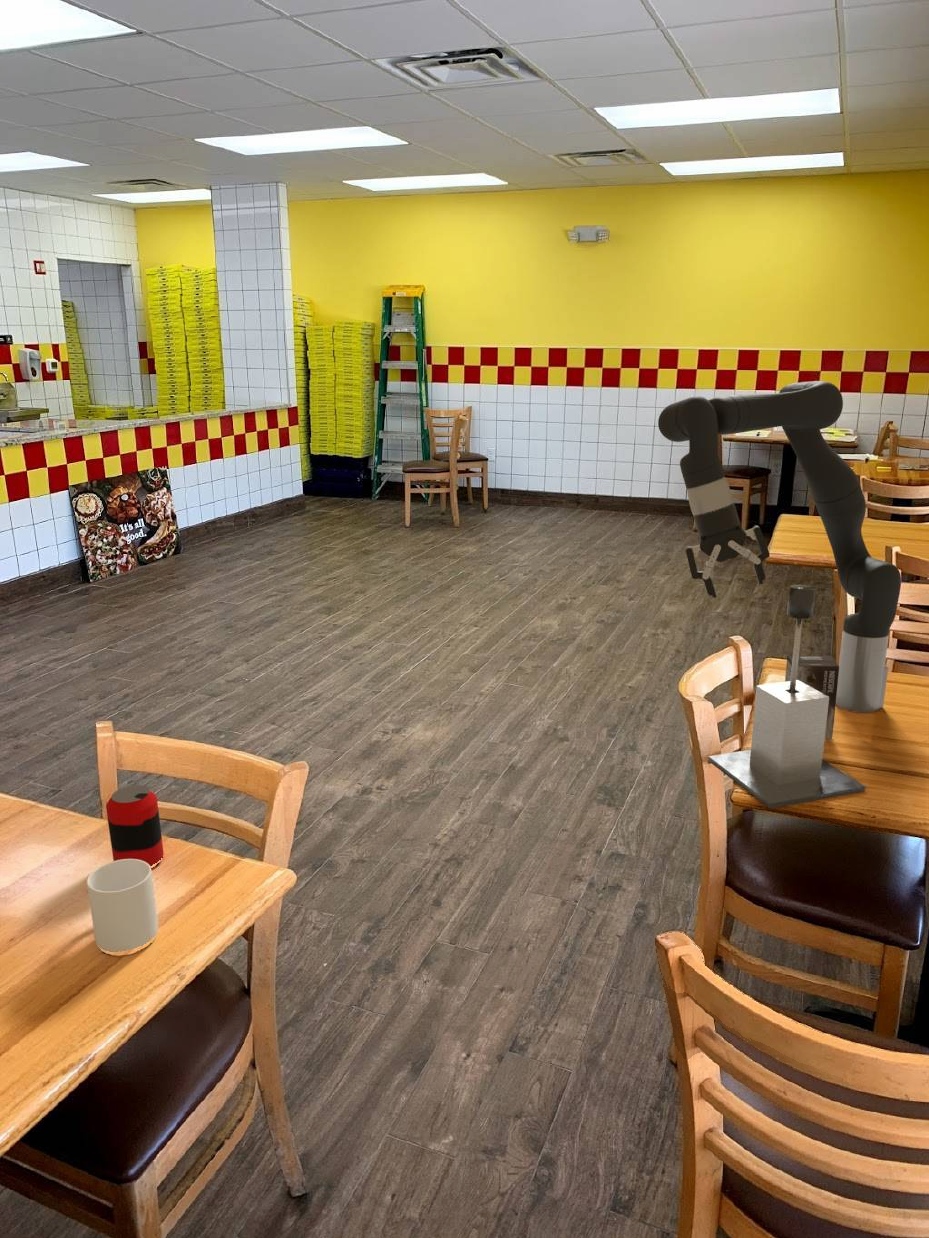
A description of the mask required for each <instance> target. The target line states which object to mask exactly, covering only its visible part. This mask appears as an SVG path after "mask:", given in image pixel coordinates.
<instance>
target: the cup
mask: <svg viewBox="0 0 929 1238" xmlns="http://www.w3.org/2000/svg"><path fill="white" fill-rule="evenodd" d="M86 887H87V895H88V901H89V906H90V907H89V908H90V912H91V913H90V914H91V921H92V927H93V932H94V940H95V944H96V947H97V946H99V947H100V948H101V949H103V950H105V951H109V952H119V951H120V952H121V951H126V950H130V949H134V948H137V947H139V946H143V945H144V944H146V943H147V942H149V941H150V940H151V939H152V938H153V937H154V936H155V935H156V934H157V931H158V932H159V919H158V914H157V913H158V911H157V903H156V897H155V890H154V889H155V887H154V881H153V873H152V869H151V867H150V865H149V864H148V863H146V862H144V861H142V860H137V859H122V860H117V861H113V860H112V861H111V862H107V863H105V864H102V865H101V866H99V867H97V868H96V869H94V870H93V871H91V873H90V874H89V876H88V877H87V880H86ZM157 935H158V934H157Z"/></svg>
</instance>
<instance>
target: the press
mask: <svg viewBox="0 0 929 1238" xmlns="http://www.w3.org/2000/svg"><path fill="white" fill-rule="evenodd" d="M789 690H790V681H787V682H785V681H779V682H773V683H766V684H765V683H764V684H759V685H758V684H757V685H756V689H755V698H754V699H755V700H754V709H753V712H754V713H753V721H752V734H751V744H750V749H747V750H741V751H733V752H727V753H720V754H713V755H709V756H708V760H707V761H708V762H709V763H710V764H712V765H713V766H714V767H715V768H717V769H718V770H719V771H721V772H722V773H723V774H724V775H726V776H727V777H728V778H729V779H731V780H733V782H735V783H736V784H737V785H738V786H740V787H741V788H743V789H744V790H745V791H747V792H748V793H749V794H750V795H752V797H754V798H756V799H757V800H758V801H760V802H761V803H762V804H763V805H764V806H766V807H767V808H768V809H776V808H780V807H786V806H793V805H797V804H804V803H809V802H815V801H819V800H820V801H821V800H824V799H832V798H837V797H842V796H849V795H854V794H858V793H865V792H866V787H867V786H866V785H864V784H863V783H861V782H859V781H858V780H856V779H855V778H853V777H852V776H850V775H848V774H847V773H845V772H844V771H842V770H841V769H839V768H838V767H837V766H834V764H832V763H830V762H828V761H827V760H825V759H823V756H824V749H825V746H824V745H825V741H826V739H825V731H826V722H827V713H828V704H829V696H827V695H825V694H823V693H821V692H819V691H817V690H816V689H814V688H812V687H810V686H808V685H806V684H804V683H803V682H801V681H799V680H796V688H795V693H793V694H791V693H789Z"/></svg>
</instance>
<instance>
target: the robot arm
mask: <svg viewBox="0 0 929 1238" xmlns="http://www.w3.org/2000/svg"><path fill="white" fill-rule="evenodd" d="M843 407H844V399H843V395H842V392H841V390H840V389H839V388H838V386H836V385H835V384H834V383H832V382H828V381H823V380H815V381H801V382H794V383H789V384H786V385H784V386H783V387H782V388H781V389H780V390H779V392H774V393H770V392H769V393H743V394H742V393H740V394H730V395H729V394H728V395H721V396H717V397H713V398H710V399H707V398H706V397H704V396H701V395H695V396H690V397H688V398H685V399H682V400H679V401H676V402H674V403H671V404H668V405H667V406H666V407H665V408H663V410H662V411H661V413H660V414H659V417H658V419H657V424H658V429H659V432H660V433H661V435H662V436H663V437H664V438H665V439H667V440H668V441H670V442H674V443H681V442H688V441H689V442H688V445H689V446H688V447H689V448H688V449H689V450H688V451H689V452H688V453H687V454H686V455H683V456H682V458H681V459H680V461H679V467H680V471H681V474H682V478H683V481H684V484H685V488H686V491H687V498H688V503H689V506H690V511H691V513H692V515H693V520H694V522H695V527H696V531H697V533H698V537H699V539H700V542H699V544H697V545H693V546H691V545H687V546H686V547H685V554H686V557H687V562H688V565H689V571H690V574H691V578H692V579H693V580H696V579H697V580H698V579H700V580H703V581H702V582H703V584H704V586H705V590H706V593H707V595H708V596H710V597H711V596H712V599H714V598H715V599H716V598H717V597H718V596H717V593H716V590H715V586H714V583H713V580H712V577H711V576H710V575H711V574H712V571H713V568H714V566H715V563H717V562H718V563H719V562H720V563H724V562H725V561H727V560H729V559H731V560H733V559H737V558H738V557H739V556H740V555H742V556H743V558H746V559H747V560H749V561H750V562H751V563H752V566H753V568H754V572H755V576H756V579H757V581H758V585H759V586H760V585H763V584H764V581H765V580H766V574H765V571H764V568H763V561H764V560H766V559H768V558H770V551H769V549H768V545H767V542H766V540H765V537H764V535H763V532H762V530H761V528H760V526H759V525H754V526H753V527H752V528H749V529H747V530H744V529H743V527H742V525H741V522H740V518H739V515H738V512H737V508H736V504H735V501H734V497H733V494H732V491H731V489H730V486H729V483H728V481H727V479H726V477H725V472H724V469H723V466H722V463H721V460H720V455H719V436H723V435H724V436H725V435H732V434H733V435H734V434H741V433H746V432H754V431H759V430H766V429H772V428H773V429H774V428H779V427H781V428H782V430H783V432H784V433H785V435H786V438H787V440H788V441H789V443H790V445H791V448H792V450H793V452H794V454H795V456H796V458H797V460H798V462H799V464H800V466H801V469H802V471H803V475H804V477H805V480H806V481H807V484H808V487H809V490H810V493H811V495H812V499H813V502H814V504H815V507H816V510H817V513H818V515H819V517H820V520H821V521H822V524H823V527H824V529H825V533H826V536H827V539H828V541H829V544H830V547H831V551H832V553H833V557H834V562H835V566H836V570H837V574H838V578H839V583H840V585H841V587H842V589H843V591H844V592H845V593H847V595H850V596H851V597H852V598H855V599H858V600H860V601H861V603H860V608H859V612H858V613H849V614H848V615H846V616H845V618H844V620H843V627H842V634H841V635H842V636H841V644H840V652H839V653H840V654H839V662H838V665H839V676H838V686H837V696H836V706H837V707H838V708H840V709H842V710H845V711H848V712H849V711H850V712H854V713H863V714H865V713H868V714H869V713H874V712H877V711H878V710H879V709H881V708H884V706H885V705H884V704H885V703H884V702H885V696H886V689H887V681H888V672H889V667H888V665H886V659H887V651H888V643H889V635H890V630H891V627H892V625H893V623H894V621H895V618H896V614H897V610H898V603H899V598H900V593H901V587H902V577H901V572H900V570H899V568H898V567H897V566H896V565H895V564H892V563H890V562H887V561H885V560H881V559H878V558H875V557H872V555H871V554H870V553H869V551H868V549H867V546H866V543H865V541H864V538H863V534H862V528H863V523H864V519H865V517H866V516H865V515H866V509H867V502H866V499H865V496H864V492H863V490H862V486H861V484H860V481H859V478H858V476H857V474H856V472H855V471H854V470H853V468H852V467H851V466H850V464H848V463H847V462H846V461H845V459H843V458H842V457H841V456H840V455H839V454H838V453H837V452H836V451H835V450H834V449H833V448H832V447H831V446H830V445H829V444H828V442H827V441H826V439H825V438H824V437H823V433H821V430H823V429H826V428H828V427H831V426H832V425H834V424H835V423H836V422H837V421H838V420H839V418H840V417H841V414H842V411H843ZM747 537H750V538H751V540H753V541H756V542H757V544H758V547H759V548H758V549H759V550H760V552H759V553H758V554H757V555H756V554H755V553H754V552H752V551H751V550H750V549H749V548H747V547H745V543H746V540H747ZM700 551H701V552H703V553H704V554H705V555H706V556H707V559H706V561H705V565H704V567H703V569H702V570H698V568H697V563H696V559H695V558H698V556H699V552H700Z"/></svg>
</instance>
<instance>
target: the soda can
mask: <svg viewBox="0 0 929 1238" xmlns="http://www.w3.org/2000/svg"><path fill="white" fill-rule="evenodd" d="M105 809H106V816H107V824H108V831H109V838H110V839H109V840H110V846H111V852H112V853H111V854H112V862H113V861H117V860H122V859H137V860H142V861H144V862H146V863H148V864H149V865H150V866H152V865H153V864H155V863H157V862H158V861H159V860H161V858H163V859H164V857H163V855H164V856H165V853H164V846H163V837H162V836H163V835H162V829H161V821H160V811H159V805H158V796H157V794H155V793H154V792H153V791H151V790H150V789H149V787H146V786H144V785H130V786H129V785H127V786H124V787H122V788H120V789H119V788H118V789H117V790H116V791H114V792H113V793H112V794H111V796H110V798H109V799H108V801H107V802H106V804H105Z"/></svg>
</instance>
